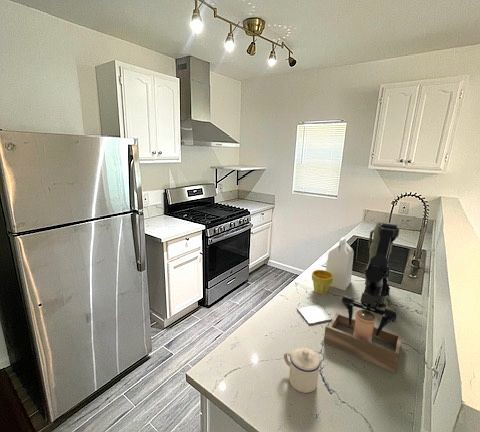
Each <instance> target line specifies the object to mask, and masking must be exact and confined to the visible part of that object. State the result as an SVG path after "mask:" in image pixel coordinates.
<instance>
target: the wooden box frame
mask: <svg viewBox="0 0 480 432" xmlns="http://www.w3.org/2000/svg"><path fill="white" fill-rule="evenodd" d="M338 324H339V325H342V326H345V327H348V328H351V329H353V330H354V325H355V318H354V317H352V323H351V326H349V315H348V316H347V315H345V314H343V313H342V314H341V313H339V312H336V313H335V315H334V316H333V318H332V321H330V323H329V325H327V324H326V325H325V328H324V336H323V343H325V344H327V345H329V346H332V347H333V348H336V349H338V350H341V351H343V352H345V353H348V354H350V355H353V356H354V357H357V358H360V359H362V360H364V361H367V362H369V363H371V364H374V365H375V366H378V367H380V368H382V369H384V370H388V371H390V372H391V373H395V374H396V371H397V366H398V362H399V357H400V347H401V342H402V335H401V334H397V333H394V332H392V331H388V330H387V329H384V328H383V329H382V330H381V332H380V333H379V335H378V336H376V333H377V330H378V327H379V326H375V325H374V330H373V336H372V338H376V339H379V340H381V341H384V342H388V343H389V344H392V345H394V346H395V350H391V349H389V348H386V347H382V346H381V345H377V344H375V343H373V342H372V341H371V342H368V341H366V340H363V339H360V338H358V337H355V336H353V334H350V333H348V332H345V331H343V330H340V329H339V328H336V326H337V325H338Z"/></svg>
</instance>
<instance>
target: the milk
mask: <svg viewBox="0 0 480 432" xmlns="http://www.w3.org/2000/svg"><path fill="white" fill-rule="evenodd" d="M346 240H347V239H346V237H345V236H342V237H341V238H340V239H339V243H337V244H336V245H335V246H333V247H332V248H331V249H330V250H329V251H328V255H327V260H326V268H325V271H328V272H330V273H331V274H332V275H333V281H332V283H331V284H330V287H332V288H336V289H339V290H341V291H342V290H343V291H346V290H347V289H348V287H349V285H350V283H352V274H353V273H352V272H353V265H354V264H353V262H354V250H353V247H351V246H350V244H349V243H347V241H346Z"/></svg>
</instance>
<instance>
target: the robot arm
mask: <svg viewBox="0 0 480 432" xmlns="http://www.w3.org/2000/svg"><path fill="white" fill-rule="evenodd" d="M382 223H383V224H382V225H379V227H378V232H377V233H378V234H379V237H380V240H379V244H378V248H377V252H376V255H375V256H374V257H372V258H371V261H370V263H369V262H368V263H367V266H366V268H365V277H366V285H365V287H364V289H363V290H364V291H363V292H362V293H361V298H360V302H359V301H355V298H354V297H351V296H348V295H344V296H342V299H341V303H342V306H344V307H345V309H347V313H348V317H349V326H351V323H352V318H354V317H353V316H354V310H355V309H354V307H356V308H359V309H360V310H367V311H370V312H372V313H373V314H375V315H376V314H377V315H379V316H382V317H381V319H380V322H379V324H378V326H377V327H378V330H377V333H376V336H378V335H379V333H380V332H381V330H382V329H384V328H385V327H386V325H388V324H389V325H391V324H392V323H396V322H397V317H398V313H397V311H394V310H391V309H388V308H384V310H382V309H380V308H382V307H387V304H386V303H384V301H385V297H388V296H390V293H391V292H390V291H391V288H390V284H389V278H390V274H391V269H390V267H389V258H390V254H391V253H390V248H391V243H392V242H393V243H394V241H395V240H396V239H397V238H398V237H399V235H400V231H401V228H400V227H398V225H397V224H393V223H385V222H382ZM389 253H390V254H389Z"/></svg>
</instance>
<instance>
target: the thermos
mask: <svg viewBox="0 0 480 432" xmlns="http://www.w3.org/2000/svg"><path fill="white" fill-rule="evenodd" d="M383 223H384V222H378V223H376V225H375V227H374V229H373V230H371V231H370V232H369V239H368V244H367V245H368V246H367V247H368V249H369V253H368V254H369V259H368V263H370V261H371V258H372V257H374V256H375V255H376V252H377V248H378V244H379V240H380V237H379V234H378V233H377V232H378V227H379V225H382V224H383ZM393 244H394V241H393V242H392V243H391V248H390V253H389V255H390V254H392V249H393V246H394V245H393ZM364 280H365V282H364V285H365V286H366V276H365V278H364Z"/></svg>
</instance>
